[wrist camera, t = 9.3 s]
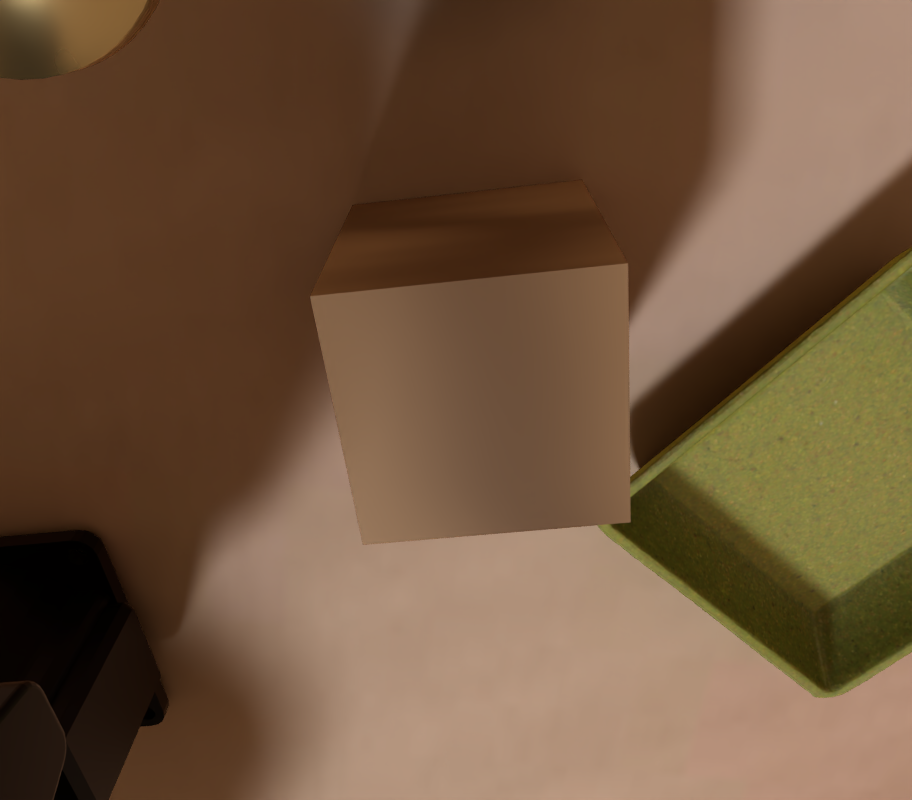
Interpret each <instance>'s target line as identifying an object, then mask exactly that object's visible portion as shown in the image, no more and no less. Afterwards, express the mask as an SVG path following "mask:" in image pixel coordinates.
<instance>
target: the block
mask: <svg viewBox="0 0 912 800" xmlns="http://www.w3.org/2000/svg"><path fill="white" fill-rule="evenodd" d="M310 300H311V304H312V309H313V314H314V318H315V323H316V328H317V332H318V337H319V342H320V346H321V351H322V356H323V360H324V365H325V370H326V374H327V379H328V384H329V389H330V393H331V398H332V403H333V407H334V412H335V417H336V421H337V426H338V431H339V435H340V440H341V445H342V449H343V454H344V459H345V463H346V468H347V473H348V477H349V482H350V487H351V491H352V496H353V501H354V505H355V510H356V515H357V519H358V524H359V529H360V534H361V538H362V543H363V545H367V544H379V543H391V542H403V541H414V540H426V539H438V538H450V537H462V536H474V535H486V534H498V533H510V532H522V531H533V530H545V529H557V528H569V527H581V526H593V525H605V524H617V523H629V522H631V512H630V408H629V305H628V262H627V260H626V259H625V257H624V255H623V253H622V251H621V250H620V248H619V246H618V244H617V242H616V240H615V239H614V237H613V235H612V233H611V231H610V230H609V228H608V226H607V224H606V222H605V221H604V219H603V217H602V215H601V213H600V212H599V210H598V208H597V206H596V204H595V202H594V201H593V199H592V197H591V195H590V193H589V192H588V190H587V188H586V186H585V184H584V183H583V181H582V180H574V181H565V182H556V183H547V184H538V185H529V186H520V187H511V188H502V189H493V190H484V191H475V192H466V193H457V194H448V195H439V196H430V197H421V198H412V199H402V200H393V201H384V202H375V203H366V204H357V205H353V206H352V208H351V210H350V212H349V214H348V216H347V218H346V220H345V223H344V225H343V227H342V229H341V231H340V233H339V235H338V237H337V240H336V242H335V244H334V246H333V248H332V250H331V252H330V254H329V257H328V259H327V261H326V263H325V265H324V267H323V269H322V271H321V274H320V276H319V278H318V280H317V282H316V284H315V286H314V289H313V291H312V293H311V295H310Z"/></svg>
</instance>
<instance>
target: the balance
mask: <svg viewBox="0 0 912 800" xmlns="http://www.w3.org/2000/svg"><path fill="white" fill-rule="evenodd" d="M159 1H160V0H0V78H10V79H21V80H23V79H42V78H48V77H52V76H57V75H62V74H66V73H70V72H74V71H78V70H81V69H84V68H87V67H89V66H92V65H95V64H97V63H100V62H101V61H103V60H105V59H107V58H108V57H110V56H112V55H114V54H115V53H117V52H118V51H119V50H120V49H122V48H123V47H124V46H125V45H127V44H128V43H129V42H130V41H131V40H132V39H133V38H134V37H135V36H136V35H137V34H138V33H139V32H140V30H141V29H142V28H143V27H144V26H145V24H146V23H147V21H148V20H149V18H150V17H151V15H152V14H153V12H154V11H155V9H156V7H157V5H158V3H159Z"/></svg>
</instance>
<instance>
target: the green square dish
mask: <svg viewBox="0 0 912 800" xmlns="http://www.w3.org/2000/svg"><path fill="white" fill-rule="evenodd" d="M630 512H631V522H629V523H617V524H605V525H598V527H599V528H600V529H601V530H602V531H603V532H604V533H605V534H606V535H607V536H608V537H609V538H610V539H611V540H613V541H614V542H615V543H617V544H618V545H620V546H621V547H622V548H623V549H624V550H626V551H627V552H629V553H630V554H631V555H632V556H633V557H634V558H636V559H637V560H639V561H640V562H641V563H643V564H644V565H645V566H646V567H648V568H649V569H650V570H652V571H653V572H655V573H656V574H657V575H658V576H660V577H661V578H663V579H664V580H665V581H666V582H668V583H669V584H671V585H672V586H673V587H674V588H676V589H677V590H678V591H679V592H681V593H682V594H683V595H684V596H686V597H687V598H689V599H690V600H692V601H693V602H694V603H695V604H696V605H698V606H699V607H701V608H702V609H703V610H704V611H705V612H707V613H708V614H709V615H711V616H712V617H713V618H714V619H715V620H717V621H718V622H720V623H721V624H722V625H723V626H724V627H726V628H727V629H728V630H730V631H731V632H733V633H734V634H735V635H736V636H737V637H739V638H740V639H741V640H742V641H744V642H745V643H746V644H748V645H749V646H750V647H751V648H752V649H754V650H755V651H756V652H758V653H759V654H760V655H761V656H762V657H764V658H765V659H767V660H768V661H769V662H770V663H772V664H773V665H774V666H775V667H777V668H778V669H779V670H781V671H782V672H784V673H785V674H786V675H787V676H789V677H790V678H791V679H793V680H794V681H795V682H796V683H797V684H799V685H800V686H801V687H802V688H804V689H805V690H807V691H808V692H810V693H811V694H812V695H813V696H814V697H819V698H827V697H835V696H838V695H842V694H844V693H846V692H848V691H850V690H851V689H853V688H855V687H856V686H858V685H860V684H861V683H863V682H865V681H867V680H869V679H870V678H872V677H873V676H875V675H876V674H878V673H879V672H881V671H883V670H884V669H886V668H887V667H889V666H890V665H892V664H893V663H895V662H896V661H898V660H900V659H901V658H903V657H904V656H906V655H908V654H909V653H911V652H912V247H911V248H909V249H907V250H906V251H904V252H902V253H901V254H899V255H898V256H897V257H895V258H894V259H892V260H891V261H890V262H889V263H887V264H886V265H885V266H884V267H882V268H881V269H880V270H879V271H878V272H876V273H875V274H874V275H873V276H872V277H870V278H869V279H868V280H867V281H866V282H864V283H863V284H862V285H861V286H860V287H858V288H857V289H856V290H855V291H854V292H853V293H851V294H850V295H849V296H848V297H847V298H845V299H844V300H843V301H842V302H841V303H839V304H838V305H837V306H836V307H835V308H833V309H832V310H831V311H830V312H829V313H827V314H826V315H825V316H824V317H823V318H821V319H820V320H819V321H818V322H817V323H815V324H814V325H813V326H812V327H811V328H809V329H808V330H807V331H806V332H805V333H803V334H802V335H801V336H800V337H799V338H797V339H796V340H795V341H794V342H793V343H791V344H790V345H789V346H788V347H787V348H785V349H784V350H783V351H782V352H781V353H779V354H778V355H777V356H776V357H775V358H773V359H772V360H771V361H770V362H769V363H767V364H766V365H765V366H764V367H763V368H761V369H760V370H759V371H758V372H757V373H755V374H754V375H753V376H752V377H751V378H749V379H748V380H747V381H746V382H745V383H743V384H742V385H741V386H740V387H739V388H737V389H736V390H735V391H734V392H733V393H731V394H730V395H729V396H728V397H727V398H725V399H724V400H723V401H722V402H720V403H719V404H718V405H717V406H716V407H714V408H713V409H712V410H711V411H710V412H708V413H707V414H706V415H705V416H704V417H702V418H701V419H700V420H699V421H698V422H696V423H695V424H694V425H693V426H692V427H690V428H689V429H688V430H687V431H685V432H684V433H683V434H682V435H681V436H679V437H678V438H677V439H676V440H675V441H673V442H672V443H671V444H670V445H668V446H667V447H666V448H665V449H664V450H662V451H661V452H660V453H659V454H658V455H656V456H655V457H654V458H653V459H651V460H650V461H649V462H648V463H647V464H645V465H644V466H643V467H642V468H641V469H639V470H638V471H637V472H636V473H635V474H633V475H632V476H631V477H630Z"/></svg>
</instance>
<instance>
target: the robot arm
mask: <svg viewBox="0 0 912 800" xmlns="http://www.w3.org/2000/svg"><path fill="white" fill-rule="evenodd" d="M76 549H80V550H82V551H84V552H85V553H86V554H87V555H86V554H81V553H80V552H78V551H77V550H76ZM160 678H161V675H160V672H159V670H158V667H157V665H156V662H155V660H154V657H153V655H152V652H151V650H150V648H149V645H148V643H147V640H146V638H145V635H144V633H143V631H142V628H141V626H140V623H139V621H138V618H137V616H136V614H135V611H134V610H133V609H132V607H131V606H130V605H129V604H128V601H127V599H126V597H125V594H124V592H123V589H122V587H121V584H120V582H119V580H118V577H117V575H116V572H115V570H114V568H113V565H112V563H111V560H110V558H109V555H108V553H107V551H106V548H105V546H104V544H103V542H102V541H101V539H100V538H98V537H97V536H96V535H94V534H93V533H90V532H87V531H81V530H75V531H63V532H52V533H41V534H30V535H18V536H7V537H0V800H109V797H110V795H111V793H112V790H113V788H114V786H115V783H116V781H117V779H118V776H119V774H120V772H121V769H122V767H123V765H124V762H125V760H126V758H127V755H128V753H129V751H130V748H131V746H132V744H133V741H134V739H135V737H136V734H137V732H138V730H139V727H140V726H152V725H157V724H159V723H160V722H162V720H163V718H164V716H165V714H166V711H167V709H168V706H169V701H168V698H167V696H166V693H165V691H164V688H163V686H162V684H161V681H160Z"/></svg>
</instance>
